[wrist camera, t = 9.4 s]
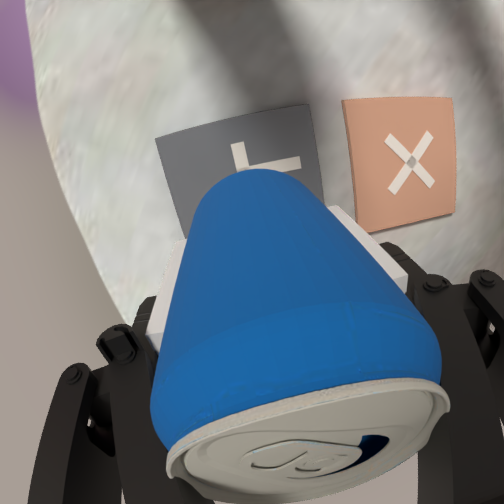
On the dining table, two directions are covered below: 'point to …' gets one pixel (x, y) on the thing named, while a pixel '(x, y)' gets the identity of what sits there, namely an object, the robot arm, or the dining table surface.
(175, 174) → the slate tile
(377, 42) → the dining table surface
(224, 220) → the beverage can
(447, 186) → the terracotta tile
